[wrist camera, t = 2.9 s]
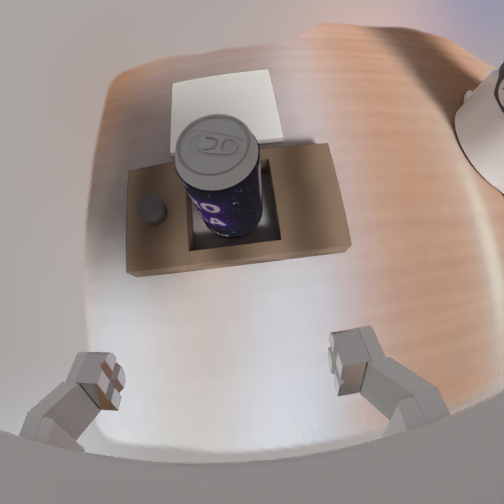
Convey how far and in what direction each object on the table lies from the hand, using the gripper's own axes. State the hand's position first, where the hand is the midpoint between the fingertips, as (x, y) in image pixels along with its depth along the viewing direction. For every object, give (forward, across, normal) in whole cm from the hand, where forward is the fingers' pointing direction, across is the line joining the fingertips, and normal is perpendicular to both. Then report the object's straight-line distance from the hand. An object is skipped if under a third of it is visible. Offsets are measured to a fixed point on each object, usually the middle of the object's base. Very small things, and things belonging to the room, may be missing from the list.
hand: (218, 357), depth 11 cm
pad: (+30, 0, -6) cm, 30 cm away
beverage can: (+21, 0, +4) cm, 21 cm away
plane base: (+20, 0, +3) cm, 21 cm away
